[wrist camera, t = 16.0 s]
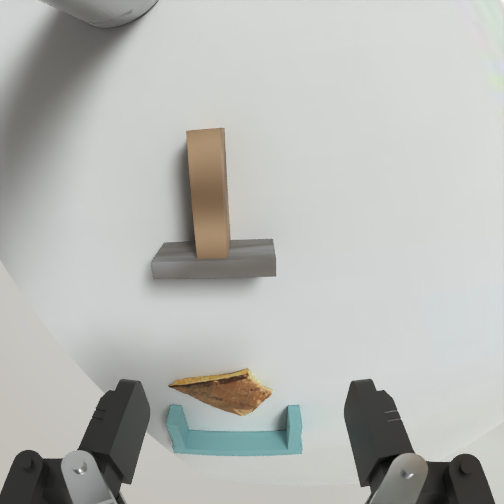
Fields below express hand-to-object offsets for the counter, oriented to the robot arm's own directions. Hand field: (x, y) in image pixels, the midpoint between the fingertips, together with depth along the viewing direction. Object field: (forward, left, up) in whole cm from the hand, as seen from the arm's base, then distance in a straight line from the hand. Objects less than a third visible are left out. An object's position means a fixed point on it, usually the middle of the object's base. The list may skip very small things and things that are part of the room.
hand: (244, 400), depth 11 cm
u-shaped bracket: (+27, -3, -19) cm, 33 cm away
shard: (+21, -4, -20) cm, 29 cm away
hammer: (-4, -3, -19) cm, 20 cm away
